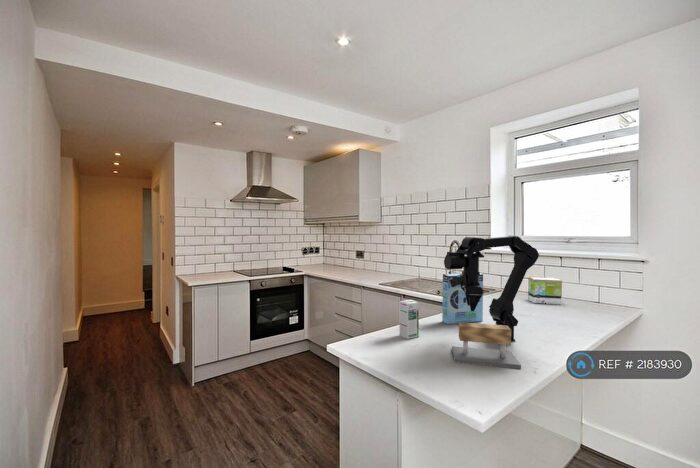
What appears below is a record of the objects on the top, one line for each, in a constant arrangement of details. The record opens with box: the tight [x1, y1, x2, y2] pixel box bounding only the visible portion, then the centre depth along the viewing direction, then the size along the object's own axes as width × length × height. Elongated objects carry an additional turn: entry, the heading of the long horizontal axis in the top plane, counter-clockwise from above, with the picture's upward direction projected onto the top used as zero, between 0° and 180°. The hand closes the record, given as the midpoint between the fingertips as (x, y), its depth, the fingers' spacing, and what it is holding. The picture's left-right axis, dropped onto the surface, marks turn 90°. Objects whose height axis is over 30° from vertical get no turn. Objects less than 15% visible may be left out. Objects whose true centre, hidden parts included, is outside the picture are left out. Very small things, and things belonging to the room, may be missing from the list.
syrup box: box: [398, 299, 420, 340], centre depth 132 cm, size 6×6×14 cm
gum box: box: [441, 272, 484, 325], centre depth 153 cm, size 20×5×23 cm, turn 105°
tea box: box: [527, 276, 563, 305], centre depth 194 cm, size 15×10×15 cm, turn 81°
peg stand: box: [451, 341, 522, 370], centre depth 110 cm, size 20×12×6 cm, turn 77°
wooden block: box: [458, 322, 512, 346], centre depth 109 cm, size 16×5×5 cm, turn 77°
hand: (470, 308), depth 126 cm, fingers open, 9 cm apart
